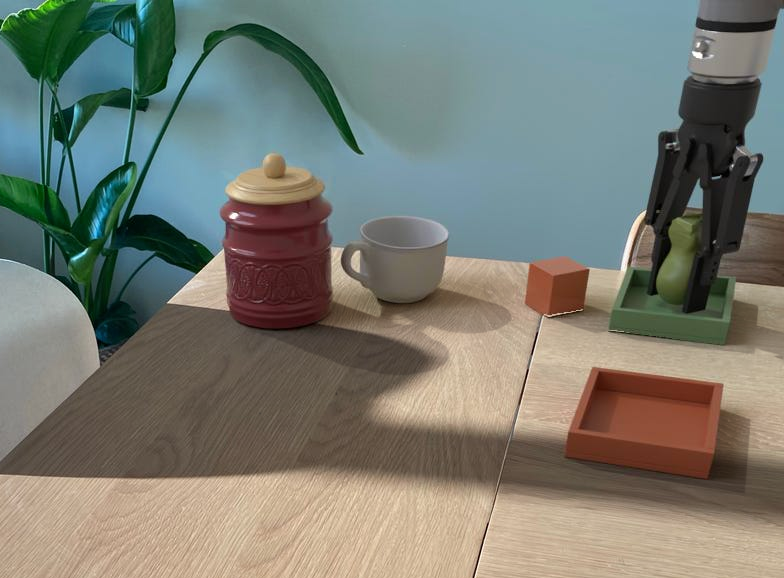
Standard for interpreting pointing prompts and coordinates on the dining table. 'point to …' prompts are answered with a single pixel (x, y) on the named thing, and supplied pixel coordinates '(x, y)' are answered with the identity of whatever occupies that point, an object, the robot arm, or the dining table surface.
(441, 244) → the teacup
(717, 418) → the terracotta tray
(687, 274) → the pear
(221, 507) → the dining table surface
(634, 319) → the green tray
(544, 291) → the block
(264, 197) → the kitchen canister
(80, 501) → the dining table surface
